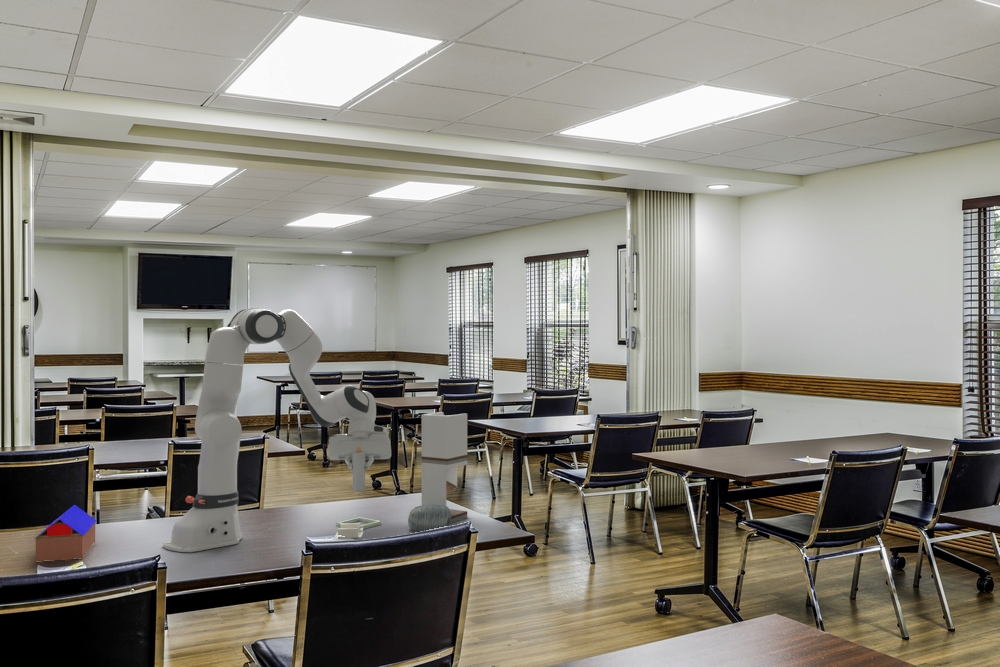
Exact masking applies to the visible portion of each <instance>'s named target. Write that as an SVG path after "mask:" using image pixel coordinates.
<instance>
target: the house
mask: <svg viewBox="0 0 1000 667" xmlns="http://www.w3.org/2000/svg"><path fill="white" fill-rule="evenodd" d="M97 520H98V519H96V518H94V517H93V516H91V515H90V514H88V513H87V512H86V511H85V510H83V509H81V508H80V507H79V506H77V505H76V504H74V505H72V506H71V507H69V509H67V510H66V511H65V512H63V513H62V514H61V515H60V516H58V518H56V519H55V520H53V522H51V523H50V524H49V525H48V526H46V528H45V529H43V530H42V531H41V532H40V533H39V534H38V535H37V536H36V537H34V540H35V562H36V561H44V560H63V559H74V558H83V556H84V555H85V554H86V552H87V551H88V550H89V548H90V547H91V546H92V544H93V543H94V542H95V543H96V522H97ZM95 543H94V544H95ZM92 547H93V546H92ZM92 547H91V548H92ZM89 551H90V550H89ZM89 551H88V552H89ZM88 552H87V553H88ZM86 555H87V554H86ZM86 555H85V556H86ZM85 556H84V557H85ZM83 559H84V558H83Z"/></svg>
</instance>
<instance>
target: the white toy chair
mask: <svg viewBox="0 0 1000 667" xmlns="http://www.w3.org/2000/svg"><path fill="white" fill-rule="evenodd" d="M360 526H361V523H360V522H353V523H341V524H340V527H338V528H337V531H336V533H335V535H334V537H336V536H337V535H342V536H345V537H348V539H352V538H353V539H355V538H358V539H359V538H362V536H363V534H364V530H365V529H364V527H363V528H361V529H360Z"/></svg>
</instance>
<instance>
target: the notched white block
mask: <svg viewBox="0 0 1000 667" xmlns="http://www.w3.org/2000/svg"><path fill="white" fill-rule="evenodd" d="M467 465H468V413H459V414H451V415H449V414H448V415H447V414H446V415H445V414H444V412H443V411H440V412H433V413H426V414H425V413H424V414H421V506H422V505H429V504H437V505H445V506H447V495H449V494H452V493H453V492H455V491H456V490H457V489H458V467H463V466H467ZM449 510H450V513H451V520H450V524H451V523H455V522H458V521H460V520H459V519H461V520H464V519H467V518H468V511H467V510H461V509H454V508H449ZM463 518H464V519H463ZM457 520H458V521H457Z"/></svg>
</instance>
